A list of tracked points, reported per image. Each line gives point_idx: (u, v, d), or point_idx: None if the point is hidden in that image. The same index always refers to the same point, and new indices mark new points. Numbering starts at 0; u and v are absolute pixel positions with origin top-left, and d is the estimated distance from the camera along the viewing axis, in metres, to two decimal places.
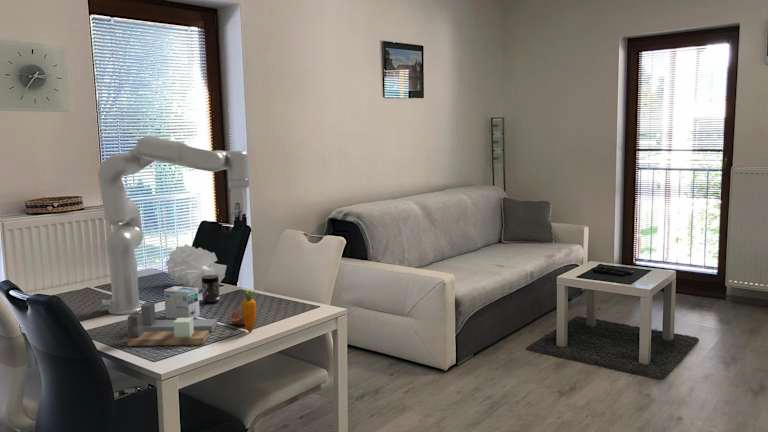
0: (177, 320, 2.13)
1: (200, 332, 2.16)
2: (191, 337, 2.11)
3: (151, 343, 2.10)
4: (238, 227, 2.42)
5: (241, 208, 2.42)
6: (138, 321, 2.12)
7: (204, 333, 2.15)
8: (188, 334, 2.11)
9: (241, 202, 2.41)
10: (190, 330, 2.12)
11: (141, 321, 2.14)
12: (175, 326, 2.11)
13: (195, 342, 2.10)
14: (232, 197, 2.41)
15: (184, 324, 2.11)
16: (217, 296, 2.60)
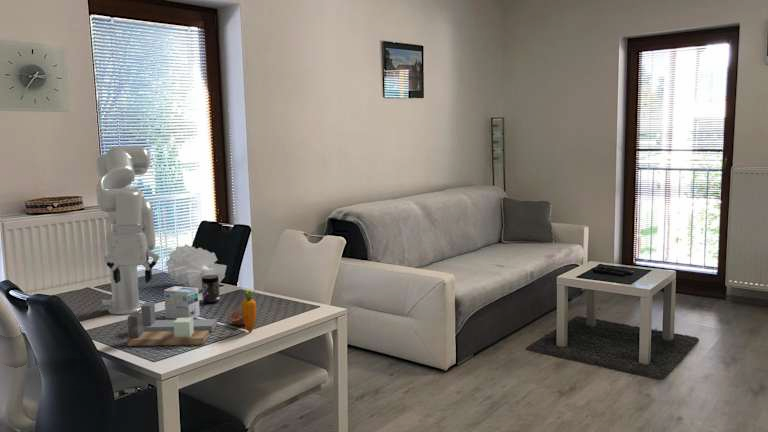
0: (177, 320, 2.13)
1: (200, 332, 2.16)
2: (191, 337, 2.11)
3: (151, 343, 2.10)
4: (151, 277, 2.11)
5: None
6: (138, 321, 2.12)
7: (204, 333, 2.15)
8: (188, 334, 2.11)
9: (147, 248, 2.11)
10: (190, 330, 2.12)
11: (141, 321, 2.14)
12: (175, 326, 2.11)
13: (195, 342, 2.10)
14: (143, 244, 2.07)
15: (184, 324, 2.11)
16: (217, 296, 2.60)
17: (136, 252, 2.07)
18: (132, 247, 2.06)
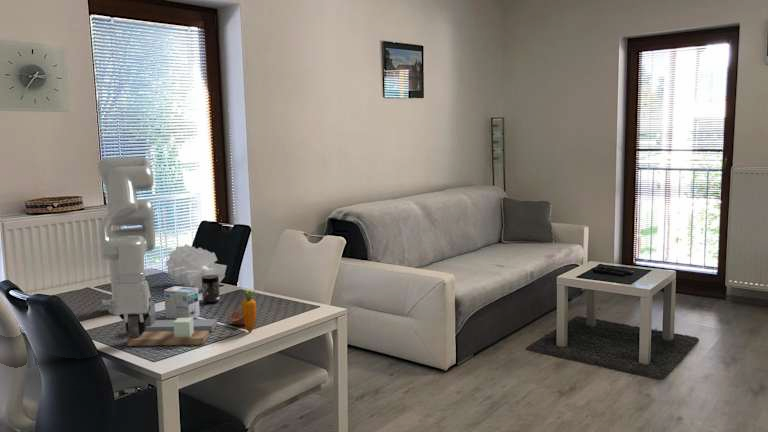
0: (177, 320, 2.13)
1: (200, 332, 2.16)
2: (191, 337, 2.11)
3: (151, 343, 2.10)
4: (144, 328, 2.13)
5: None
6: (138, 321, 2.12)
7: (204, 333, 2.15)
8: (188, 334, 2.11)
9: (150, 296, 2.13)
10: (190, 330, 2.12)
11: None
12: (175, 326, 2.11)
13: (195, 342, 2.10)
14: (146, 293, 2.10)
15: (184, 324, 2.11)
16: (217, 296, 2.60)
17: (139, 301, 2.09)
18: (135, 296, 2.09)
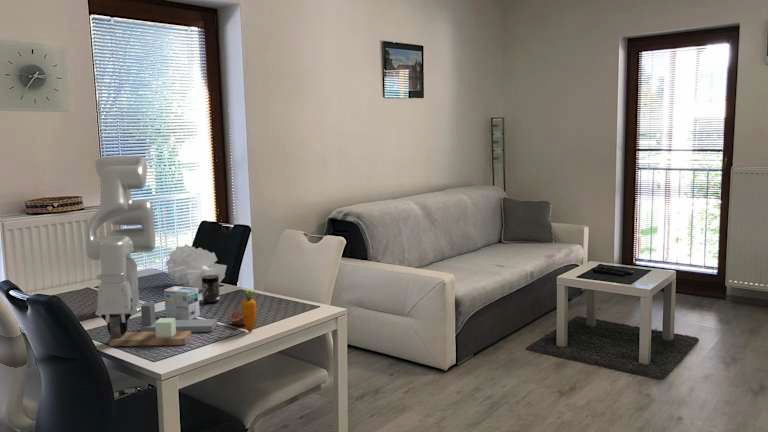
0: (159, 320, 2.12)
1: (182, 332, 2.16)
2: (173, 337, 2.11)
3: (133, 344, 2.10)
4: (126, 328, 2.13)
5: None
6: (120, 322, 2.11)
7: (186, 333, 2.15)
8: (170, 334, 2.11)
9: (132, 296, 2.13)
10: (172, 330, 2.12)
11: None
12: (157, 326, 2.11)
13: (177, 342, 2.10)
14: (128, 293, 2.10)
15: (166, 324, 2.11)
16: (217, 296, 2.60)
17: (120, 301, 2.09)
18: (116, 296, 2.08)
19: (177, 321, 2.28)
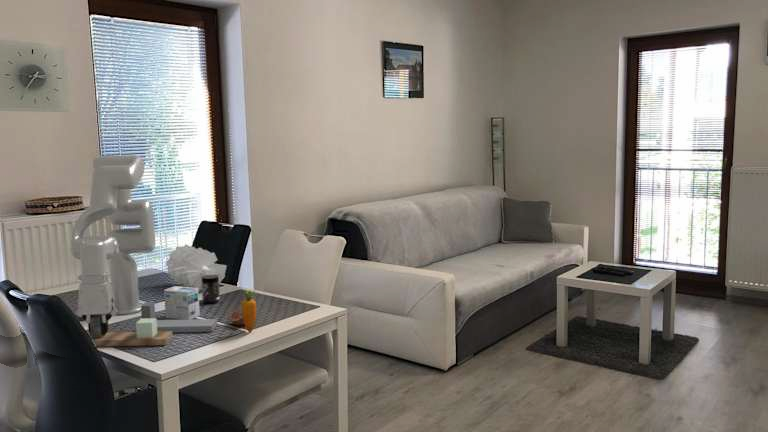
0: (140, 321, 2.12)
1: (163, 333, 2.16)
2: (154, 338, 2.11)
3: (113, 344, 2.09)
4: (107, 329, 2.13)
5: None
6: (101, 322, 2.11)
7: (167, 334, 2.15)
8: (151, 335, 2.11)
9: (113, 296, 2.13)
10: (153, 331, 2.12)
11: None
12: (137, 327, 2.10)
13: (157, 343, 2.10)
14: (108, 293, 2.09)
15: (147, 325, 2.10)
16: (217, 296, 2.60)
17: (101, 302, 2.09)
18: (97, 297, 2.08)
19: (177, 321, 2.28)
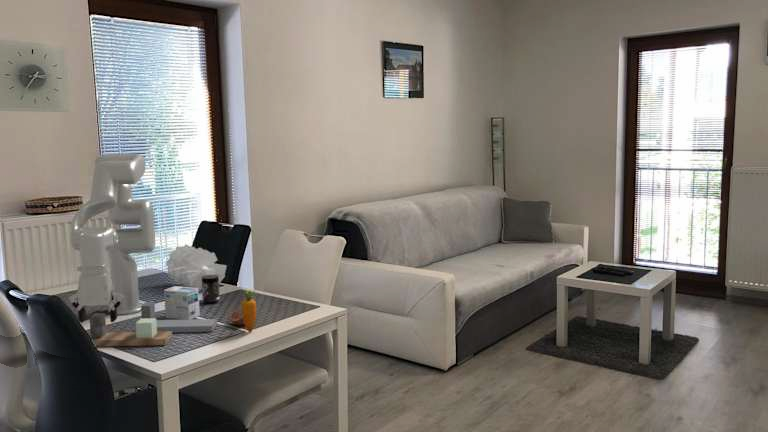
0: (140, 321, 2.12)
1: (163, 333, 2.16)
2: (153, 338, 2.11)
3: (113, 344, 2.09)
4: (116, 316, 2.13)
5: None
6: (101, 322, 2.11)
7: (167, 334, 2.15)
8: (150, 335, 2.11)
9: (112, 288, 2.13)
10: (152, 331, 2.12)
11: (104, 322, 2.14)
12: (137, 327, 2.10)
13: (157, 343, 2.10)
14: (108, 285, 2.09)
15: (147, 325, 2.10)
16: (217, 296, 2.60)
17: (101, 293, 2.09)
18: (96, 288, 2.08)
19: (177, 321, 2.28)
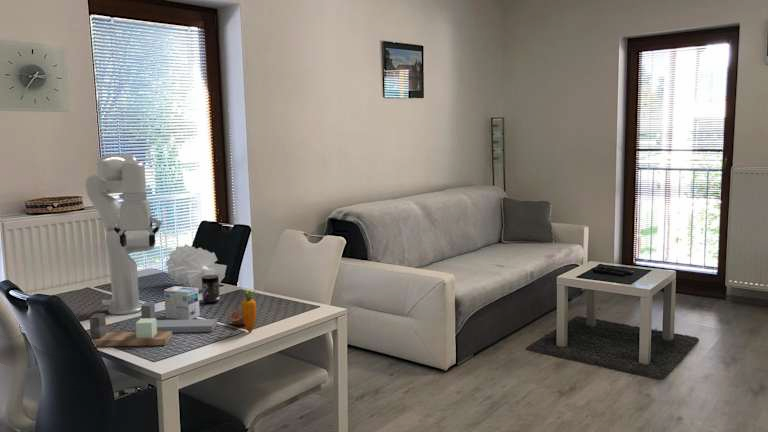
0: (140, 321, 2.12)
1: (163, 333, 2.16)
2: (153, 338, 2.11)
3: (113, 344, 2.09)
4: (154, 241, 2.29)
5: None
6: (101, 322, 2.11)
7: (167, 334, 2.15)
8: (150, 335, 2.11)
9: (151, 215, 2.29)
10: (152, 331, 2.12)
11: (104, 322, 2.14)
12: (137, 327, 2.10)
13: (157, 343, 2.10)
14: (148, 211, 2.26)
15: (147, 325, 2.10)
16: (217, 296, 2.60)
17: (141, 218, 2.25)
18: (137, 213, 2.25)
19: (177, 321, 2.28)
